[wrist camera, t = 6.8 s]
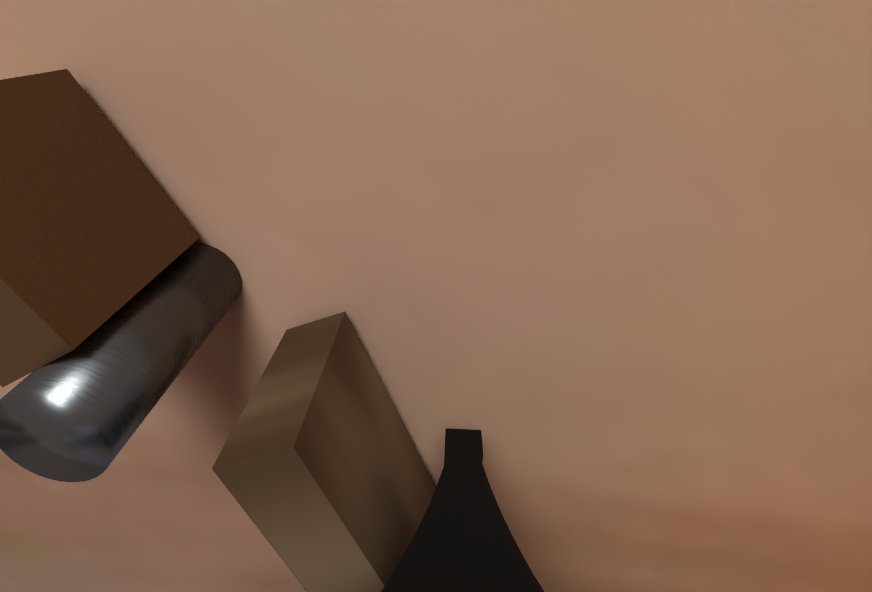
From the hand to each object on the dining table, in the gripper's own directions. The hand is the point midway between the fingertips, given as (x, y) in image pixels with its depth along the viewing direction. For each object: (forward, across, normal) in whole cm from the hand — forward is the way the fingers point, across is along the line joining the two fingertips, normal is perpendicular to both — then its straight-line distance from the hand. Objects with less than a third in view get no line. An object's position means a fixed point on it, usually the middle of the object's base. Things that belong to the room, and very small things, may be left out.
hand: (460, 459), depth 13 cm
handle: (+1, +1, +3) cm, 4 cm away
